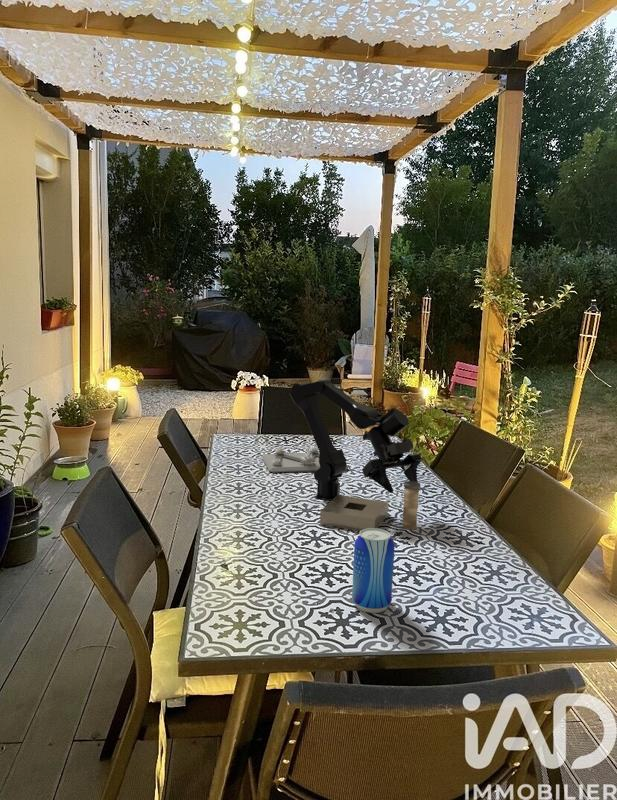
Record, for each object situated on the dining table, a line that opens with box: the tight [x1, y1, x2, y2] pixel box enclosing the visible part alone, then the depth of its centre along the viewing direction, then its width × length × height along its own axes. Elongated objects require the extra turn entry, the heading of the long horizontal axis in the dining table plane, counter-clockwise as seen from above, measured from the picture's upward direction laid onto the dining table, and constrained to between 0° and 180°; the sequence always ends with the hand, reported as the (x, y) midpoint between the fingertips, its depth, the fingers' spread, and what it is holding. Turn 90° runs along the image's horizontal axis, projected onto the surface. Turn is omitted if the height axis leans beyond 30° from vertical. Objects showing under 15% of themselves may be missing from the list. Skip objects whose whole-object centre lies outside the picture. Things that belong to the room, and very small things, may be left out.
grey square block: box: [319, 494, 389, 532], centre depth 185 cm, size 16×16×4 cm
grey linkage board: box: [261, 445, 349, 474], centre depth 242 cm, size 30×22×7 cm
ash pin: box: [401, 480, 421, 531], centre depth 179 cm, size 5×5×13 cm
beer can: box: [351, 528, 395, 614], centre depth 133 cm, size 8×8×16 cm
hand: (404, 490), depth 181 cm, fingers open, 9 cm apart
